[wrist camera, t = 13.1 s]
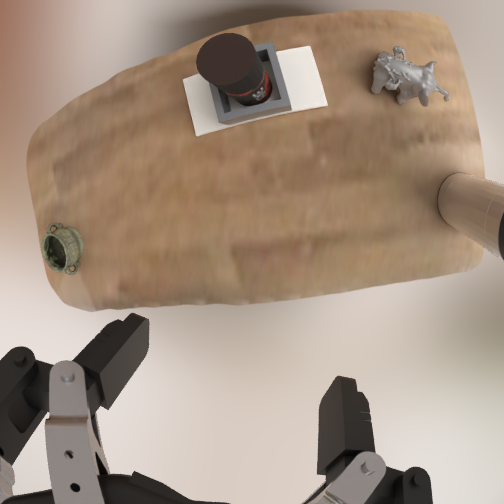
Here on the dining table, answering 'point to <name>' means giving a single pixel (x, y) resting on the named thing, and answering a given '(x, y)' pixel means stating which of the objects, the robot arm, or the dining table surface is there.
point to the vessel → (62, 248)
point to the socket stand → (280, 101)
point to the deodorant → (235, 68)
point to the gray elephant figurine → (405, 77)
